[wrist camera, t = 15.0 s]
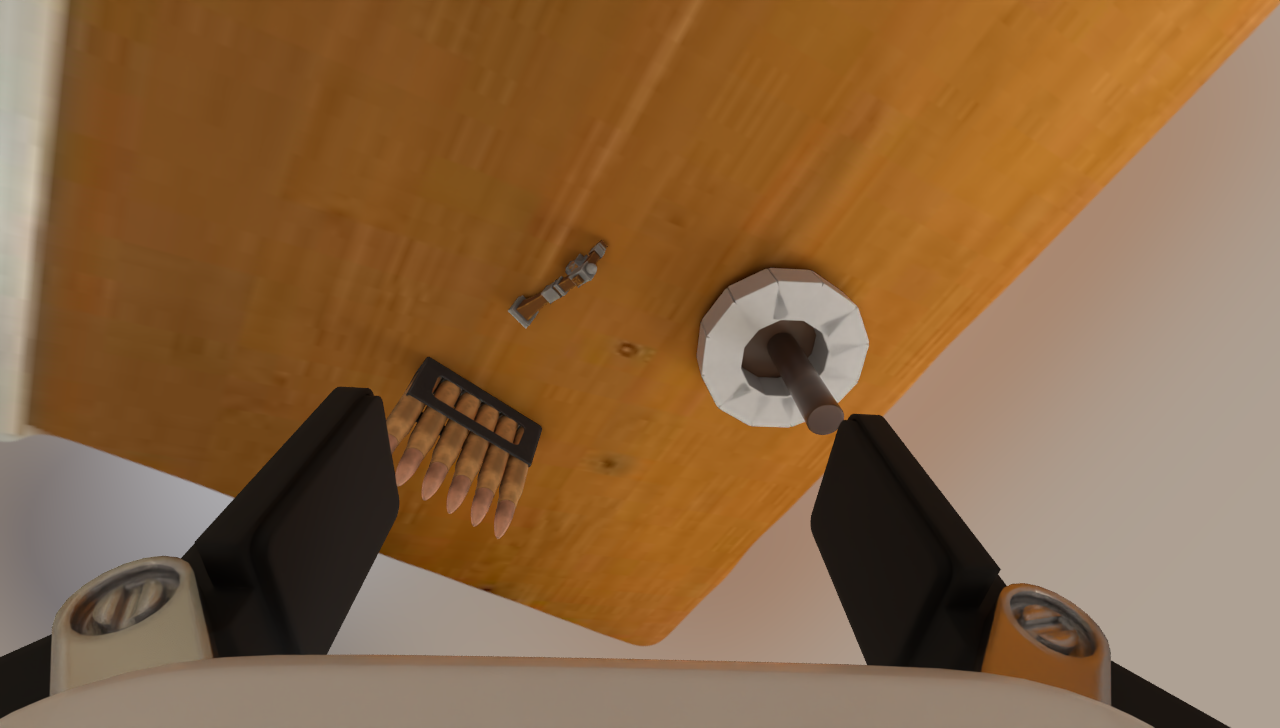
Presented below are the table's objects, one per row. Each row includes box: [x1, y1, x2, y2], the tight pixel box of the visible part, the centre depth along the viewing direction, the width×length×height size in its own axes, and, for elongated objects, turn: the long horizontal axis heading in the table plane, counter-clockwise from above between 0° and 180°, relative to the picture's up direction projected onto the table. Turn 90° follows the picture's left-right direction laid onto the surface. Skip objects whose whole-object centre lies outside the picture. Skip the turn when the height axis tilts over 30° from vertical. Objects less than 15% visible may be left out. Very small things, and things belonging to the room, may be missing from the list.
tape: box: [697, 268, 869, 427], centre depth 39 cm, size 12×12×3 cm
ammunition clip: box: [386, 357, 542, 539], centre depth 38 cm, size 11×2×12 cm, turn 50°
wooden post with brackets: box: [508, 240, 608, 328], centre depth 37 cm, size 2×8×4 cm, turn 129°
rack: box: [741, 320, 844, 435], centre depth 37 cm, size 8×8×11 cm
